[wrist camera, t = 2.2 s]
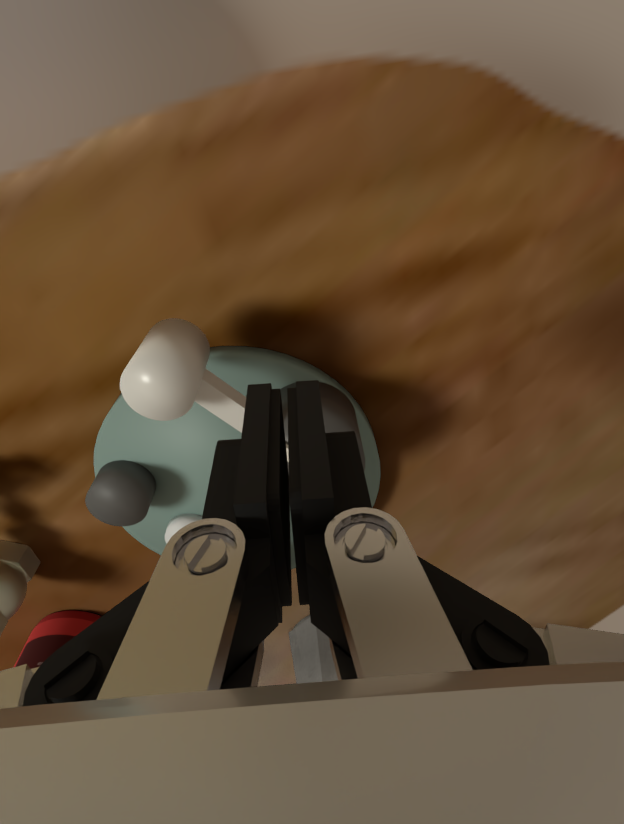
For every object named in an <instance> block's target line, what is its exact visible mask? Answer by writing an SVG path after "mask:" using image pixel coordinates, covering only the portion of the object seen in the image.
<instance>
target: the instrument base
mask: <svg viewBox="0 0 624 824" xmlns="http://www.w3.org/2000/svg"><path fill="white" fill-rule="evenodd" d="M206 369H207V370H209V371H210V372H211V373H213V374H214V375H216V376H217V377H218V378H220V379H221V380H223V381H224V382H226V383H227V384H228V385H230V386H231V387H233V388H234V389H235V390H237V391H238V392H240V393H241V394H242V395H244V396H245V397H246V395H247V387H248V385H251V384H266V383H271V386H272V389H281V388H283V387H285V386H287V385H290V384H292V383H296V381H311V380H318V381H319V382H322V383H326V384H329V385H332V386H334V387H336V388H337V389H339V390H340V391H342V392H343V393H344V394H345V395H346V396H347V397H348V398H349V399H350V401H351V403H352V404H353V406H354V409H355V413H356V417H357V422H358V427H359V431H360V436H361V441H362V446H363V450H364V455H365V471H364V474H365V478H366V483H367V487H368V492H369V496H370V500H371V505H372V507H373V505H374V503H375V500H376V497H377V494H378V491H379V484H380V476H381V475H380V460H379V455H378V450H377V446H376V442H375V438H374V434H373V431H372V429H371V426H370V424H369V421H368V419H367V417H366V415H365V414H364V412H363V410H362V409H361V407H360V405H359V404H358V403H357V402H356V400H355V399H354V398H353V397H352V396H351V394H350V393H349V392H348V391H347V390H346V389H345V388H344V387H343V386H341V385H340V384H339V383H338V382H337V381H336V380H335V379H333V378H332V377H330V376H329V375H327V374H326V373H325V372H323V371H322V370H320V369H318V368H316V367H314V366H313V365H311V364H309V363H307V362H305V361H303V360H300V359H298V358H295V357H292V356H290V355H287V354H284V353H280V352H276V351H272V350H268V349H263V348H255V347H247V346H218V347H210V355H209V359H208V362H207V365H206ZM241 436H242V433H241V432H240V431H238V430H237V429H235V428H234V427H232V426H231V425H229V424H228V423H226V422H225V421H223V420H222V419H220V418H219V417H217V416H216V415H214V414H213V413H211V412H210V411H208V410H207V409H205V408H204V407H202V406H201V405H199V404H198V403H196V402H195V401H194V404H193V406H192V407H191V409H190V410H189V411H188V412H187V413H186V414H185V415H183V416H181V417H179V418H177V419H174V420H168V421H159V420H153V419H149V418H147V417H144V416H142V415H140V414H138V413H137V412H136V411H134V410H133V409H132V408H131V407H130V406H129V405H128V404H127V403H126V401H125V400H124V398H123V396H122V393H121V394H120V396H119V397H118V399H117V400H116V402H115V403H114V405H113V406H112V408H111V409H110V411H109V413H108V414H107V416H106V418H105V419H104V421H103V424H102V426H101V428H100V431H99V433H98V436H97V440H96V444H95V449H94V471H95V480H94V481H93V483H92V485H91V487H90V489H89V491H88V493H87V495H86V500H85V501H86V506H87V508H88V510H89V511H90V513H91V514H92V515H93V516H94V517H96V518H97V519H99V520H100V521H102V522H104V523H107V524H110V525H114V526H122V527H123V528H124V529H125V530H126V531H127V532H128V533H129V534H131V535H132V536H133V537H134V538H135V539H136V540H138V541H139V542H140V543H142V544H143V545H145V546H146V547H148V548H149V549H151V550H153V551H154V552H156V553H158V554H160V555H162V552H163V550H164V548H165V546H166V544H167V543H168V541H169V540H170V538H171V537H172V536H173V535H174V534H175V533H176V532H177V531H178V530H180V529H181V528H183V527H184V526H186V525H188V524H190V523H192V522H195V521H198V520H202V515H203V510H204V505H205V500H206V495H207V490H208V484H209V479H210V474H211V469H212V464H213V459H214V453H215V448H216V444H217V441H218V440H230V439H241ZM290 539H291V569H293V568H296V563H295V553H294V543H293V532H292V522H291V512H290Z"/></svg>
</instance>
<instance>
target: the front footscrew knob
mask: <svg viewBox="0 0 624 824" xmlns="http://www.w3.org/2000/svg"><path fill="white" fill-rule="evenodd" d="M209 355H210V346H209V342H208V340H207V338H206V336H205V335H204V333H203V332H202V331H201V330H200V329H199V328H198V327H197V326H195V325H194V324H192V323H190V322H188V321H186V320H182V319H166V320H162V321H160V322H158V323H156V324H155V325H154V326H153V327H152V328H151V329H150V331H149V332H148V334H147V336H146V337H145V339H144V340H143V342H142V343H141V345H140V346H139V348H138V349H137V351H136V353H135V354H134V356H133V357H132V359H131V360H130V362H129V363H128V365H127V366H126V368H125V370H124V371H123V373H122V375H121V379H120V389H121V393H122V396H123V398H124V400H125V401H126V403H127V404H128V405H129V406H130V407H131V408H132V409H133V410H134V411H136V412H137V413H138V414H140V415H142V416H144V417H147V418H149V419H153V420H159V421H168V420H174V419H177V418H179V417H181V416H183V415H185V414H186V413H187V412H188V411H189V410H190V409H191V407H192V406H193V404H194V401H195V402H196V403H198V404H199V405H201V406H202V407H204V408H205V409H207V410H208V411H210V412H211V413H213V414H214V415H216V416H217V417H219V418H220V419H222V420H223V421H225V422H226V423H228V424H229V425H231V426H232V427H234V428H235V429H237V430H238V431H240V432H241V433H242V428H243V420H244V412H245V403H246V397H245V396H244V395H242V394H241V393H240V392H238V391H237V390H235V389H234V388H233V387H231V386H230V385H228V384H227V383H226V382H224V381H223V380H221V379H220V378H218V377H217V376H216V375H214V374H213V373H211V372H210V371H209V370H207V369H206V365H207V362H208V359H209ZM287 388H296V383H292V384H290V385H287V386H285V387H283V388H281V389H280V390H281V400H282V410H283V421H284V431H285V441H286V452H287V462H288V472H289V455H288V401H287ZM319 389H320V396H321V404H322V411H323V419H324V427H325V433H332V432H347V431H354V432H355V434H356V438H357V442H358V447H359V451H360V456H361V460H362V465H363V469H364V471H365V455H364V450H363V446H362V441H361V436H360V431H359V427H358V422H357V417H356V413H355V409H354V406H353V404H352V403H351V401H350V399H349V398H348V397H347V396H346V395H345V394H344V393H343V392H342V391H340V390H339V389H337V388H336V387H334V386H332V385H329V384H326V383H322V382H319Z"/></svg>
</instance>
